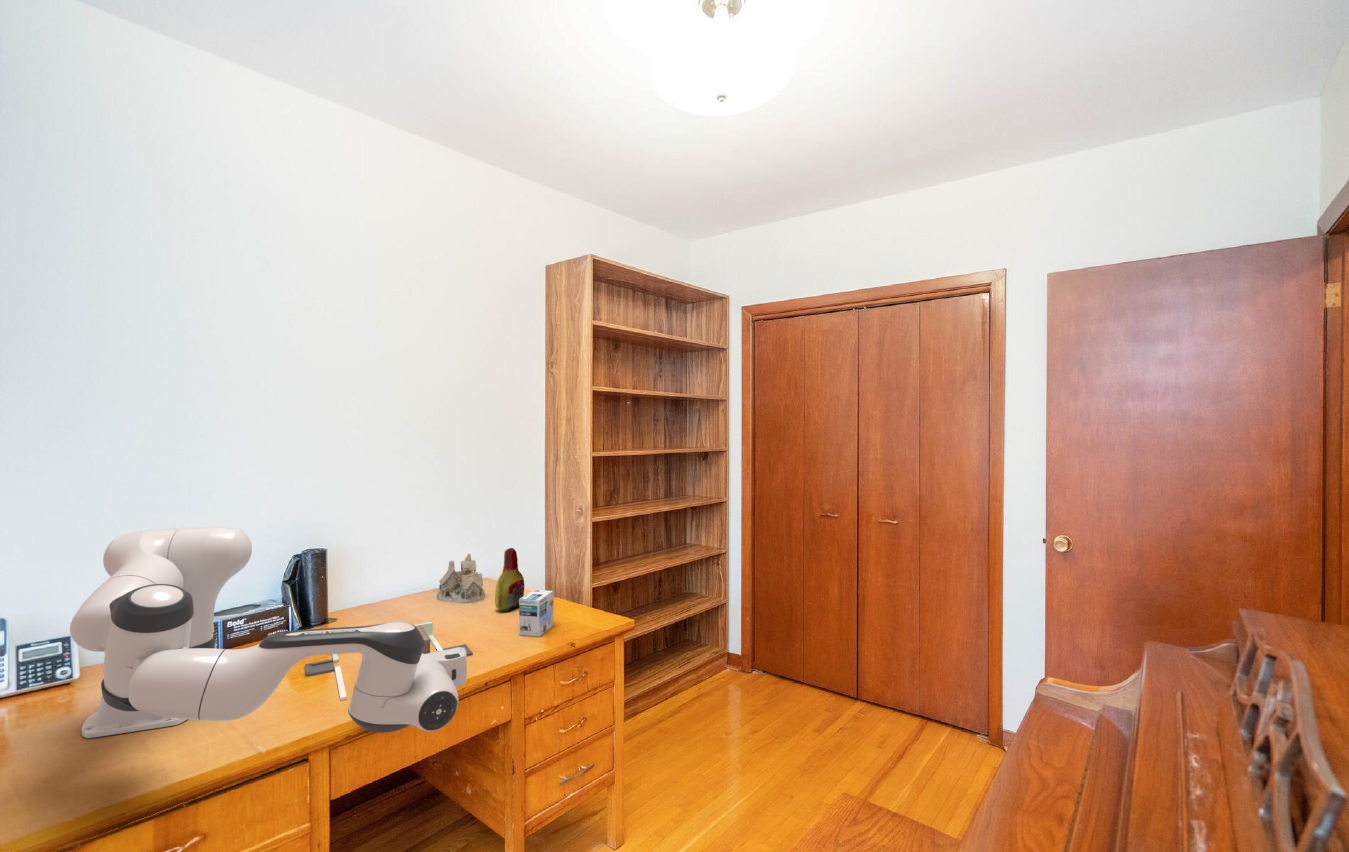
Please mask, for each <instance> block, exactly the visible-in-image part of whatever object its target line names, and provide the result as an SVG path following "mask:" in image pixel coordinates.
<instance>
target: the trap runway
mask: <svg viewBox="0 0 1349 852" xmlns="http://www.w3.org/2000/svg"><path fill="white" fill-rule="evenodd" d="M414 625H415V626H418V625H422V627H423V629H424V630H425V632H426V633H427V635H428V637H429V638H430V640H431V641H430V643H431V644H432V645H433V648H434V649H435V650H436V649H437V650H436V652H437V651H442V650H447V649H452V648H457V647H463V648H465V650H466V653H467V657H469V655H470V656H473V653H474V652H473V651H472V650H471V649H470V647H469V646H468V645H467V644H466V643H465V644H460V645H455V646H449V647H444V648H443V647H442V646H441V644H440V643H439V642H438V639H436V638H435V636H434V632H433V631H434V624H433V622H432V621H428V622H423V623H416V624H414ZM331 657H332V658H331V659H325V660H320V661H313V662H309V663H305V664H304V667H305V669H304V671H305V677H306V676H308V677H312V676H317V675H318V676H319V675H323V674H329V673H333V672H335V678H336V683H337V690H338V695H339V700H340V701H345V700H347V693H346V692H347V691H346V687H345V683H344V679H343V678H344V677H343V673H342V669H341V666H340V665H339V666H335V663H339V660H340V659H339V654H332V655H331ZM332 671H333V672H332Z"/></svg>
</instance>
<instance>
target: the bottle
mask: <svg viewBox="0 0 1349 852" xmlns="http://www.w3.org/2000/svg"><path fill="white" fill-rule="evenodd" d="M503 554H504V557H503V568H502V572H501V574H500V576H499V577H498V580H497V581H496V583H495V591H494V592H495V593H494V605H495V607H496V609H498V610H499V611H500V612H509V611H512V610H514V609H517V608H519V599H520V598H522V597H523V596H525V593H524V592H525V578H524V576H523V573H521V572H520V571H519V565H518V564H519V563H518V562H519V561H518V554H517V550H516V549H515V548H513V547H509V548H507V549H505V550H504V553H503Z"/></svg>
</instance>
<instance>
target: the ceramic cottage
mask: <svg viewBox="0 0 1349 852" xmlns="http://www.w3.org/2000/svg"><path fill="white" fill-rule="evenodd" d="M482 574H483V573H482V572H479V573H478V572H477V563H476V559H474V560H473V559H472V555H471V553H467V556H465V557H464V560H461V562H460V570H458V571H456V570H455V560H449V561H448V569H447V570H446V572H445V574H444V575H443V576H442V577H441V579H440V580H439V581H438V582H439V588H438V591H437V593H436V599H437V600H438V601H441V602H446V603H447V602H448V603H454V604H455V603H456V604H470V603H479V602H482V601H483V600H484V599H485V597H486V593H485V592H486V591H485V589H484V588H483V586H484V581H483V575H482ZM481 600H482V601H481Z"/></svg>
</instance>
